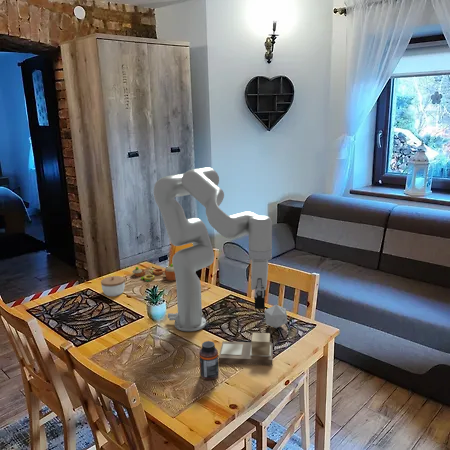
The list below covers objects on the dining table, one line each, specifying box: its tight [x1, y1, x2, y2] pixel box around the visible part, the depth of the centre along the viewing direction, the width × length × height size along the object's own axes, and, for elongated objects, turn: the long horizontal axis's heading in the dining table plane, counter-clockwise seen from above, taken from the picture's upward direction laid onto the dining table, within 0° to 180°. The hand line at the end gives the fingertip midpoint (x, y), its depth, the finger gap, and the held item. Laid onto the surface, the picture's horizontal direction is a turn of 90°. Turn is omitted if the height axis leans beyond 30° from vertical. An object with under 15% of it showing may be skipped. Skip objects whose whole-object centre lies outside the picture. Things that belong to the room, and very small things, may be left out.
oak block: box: [250, 332, 271, 355], centre depth 150 cm, size 6×6×5 cm
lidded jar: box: [100, 275, 126, 297], centre depth 205 cm, size 11×11×9 cm
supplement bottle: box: [198, 340, 220, 381], centre depth 140 cm, size 6×6×11 cm
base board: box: [218, 340, 274, 366], centre depth 152 cm, size 18×11×2 cm, turn 83°
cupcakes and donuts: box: [131, 263, 176, 282], centre depth 224 cm, size 26×16×10 cm, turn 98°
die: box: [264, 304, 288, 329], centre depth 170 cm, size 8×9×10 cm
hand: (260, 302), depth 147 cm, fingers open, 9 cm apart
